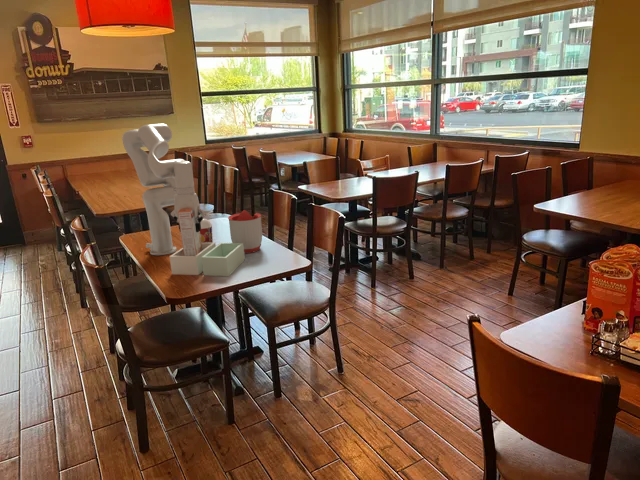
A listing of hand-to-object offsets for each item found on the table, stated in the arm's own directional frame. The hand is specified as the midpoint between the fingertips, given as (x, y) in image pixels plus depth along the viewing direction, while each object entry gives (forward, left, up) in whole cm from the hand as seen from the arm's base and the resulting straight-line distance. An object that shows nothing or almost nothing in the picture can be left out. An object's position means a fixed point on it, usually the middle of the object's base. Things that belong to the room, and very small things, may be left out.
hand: (190, 230), depth 203 cm
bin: (+14, 0, -16) cm, 22 cm away
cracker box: (0, 0, -11) cm, 11 cm away
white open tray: (0, 0, -16) cm, 16 cm away
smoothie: (-3, +18, -17) cm, 24 cm away
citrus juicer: (+16, +25, -17) cm, 34 cm away
